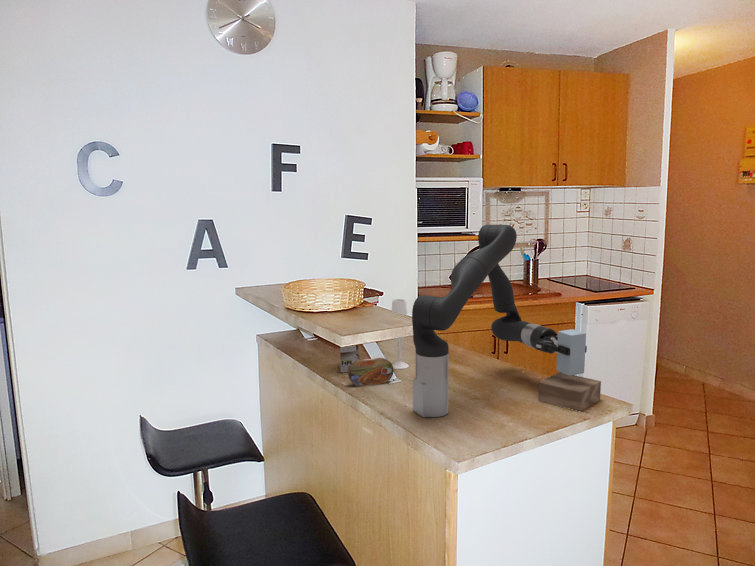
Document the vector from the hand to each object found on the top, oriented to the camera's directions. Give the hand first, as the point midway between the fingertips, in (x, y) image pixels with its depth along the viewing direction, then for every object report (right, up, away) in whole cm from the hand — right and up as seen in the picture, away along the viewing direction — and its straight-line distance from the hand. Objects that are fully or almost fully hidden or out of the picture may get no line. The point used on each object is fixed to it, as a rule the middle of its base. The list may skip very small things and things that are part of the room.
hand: (577, 350), depth 165 cm
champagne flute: (-50, -10, +40) cm, 65 cm away
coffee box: (-67, -11, +38) cm, 78 cm away
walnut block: (-1, -16, +5) cm, 16 cm away
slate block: (-1, -7, +3) cm, 8 cm away
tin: (-60, -14, +22) cm, 65 cm away
